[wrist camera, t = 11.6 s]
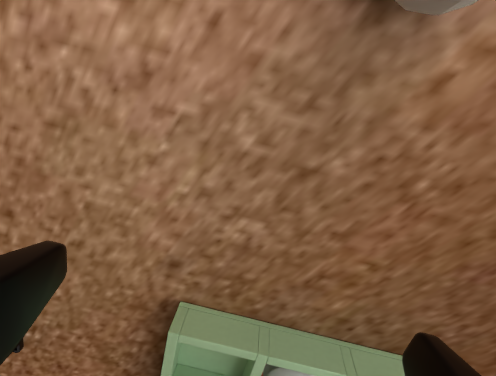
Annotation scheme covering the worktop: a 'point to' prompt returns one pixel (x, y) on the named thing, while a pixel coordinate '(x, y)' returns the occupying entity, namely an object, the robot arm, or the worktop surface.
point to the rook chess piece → (281, 371)
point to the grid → (262, 348)
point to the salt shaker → (433, 5)
